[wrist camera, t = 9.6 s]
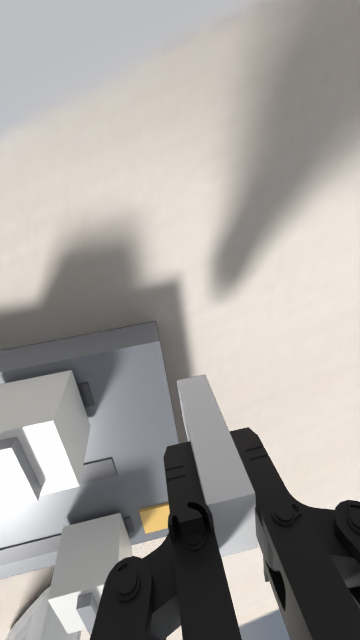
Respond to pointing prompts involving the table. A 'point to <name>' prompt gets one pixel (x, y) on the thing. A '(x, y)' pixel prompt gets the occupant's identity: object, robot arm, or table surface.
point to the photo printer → (40, 623)
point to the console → (98, 442)
